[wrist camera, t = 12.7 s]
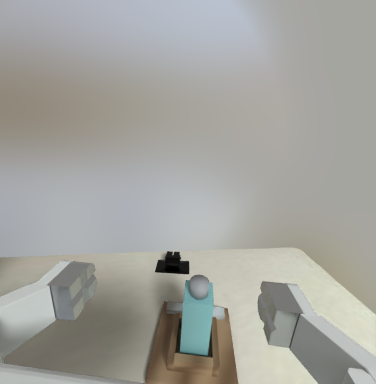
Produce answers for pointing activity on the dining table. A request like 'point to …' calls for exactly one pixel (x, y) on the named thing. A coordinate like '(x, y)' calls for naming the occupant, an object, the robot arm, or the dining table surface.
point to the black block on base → (172, 264)
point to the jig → (191, 364)
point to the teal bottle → (197, 316)
